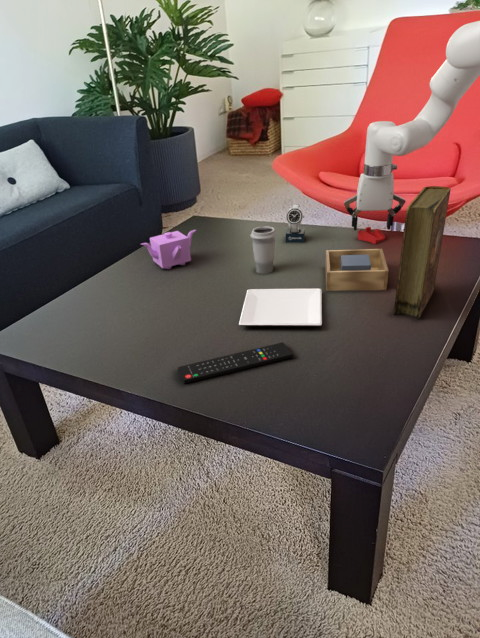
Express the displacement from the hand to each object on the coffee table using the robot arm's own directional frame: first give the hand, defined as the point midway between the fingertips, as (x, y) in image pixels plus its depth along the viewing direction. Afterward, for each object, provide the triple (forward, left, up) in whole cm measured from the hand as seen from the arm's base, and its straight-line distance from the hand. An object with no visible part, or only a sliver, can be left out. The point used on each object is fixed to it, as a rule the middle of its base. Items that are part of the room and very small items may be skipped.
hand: (371, 228), depth 158 cm
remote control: (+33, +71, -4) cm, 78 cm away
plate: (+25, +47, -4) cm, 53 cm away
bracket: (0, +1, -4) cm, 4 cm away
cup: (+31, +22, -4) cm, 38 cm away
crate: (+7, +29, -3) cm, 30 cm away
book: (-6, +43, -4) cm, 44 cm away
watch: (+23, -1, -4) cm, 23 cm away
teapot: (+59, +16, -4) cm, 61 cm away
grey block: (+7, +29, -3) cm, 30 cm away
